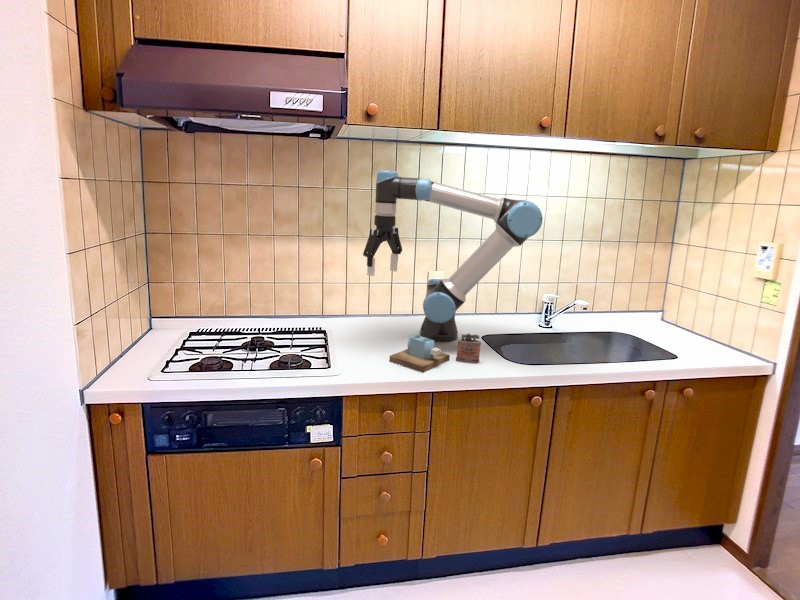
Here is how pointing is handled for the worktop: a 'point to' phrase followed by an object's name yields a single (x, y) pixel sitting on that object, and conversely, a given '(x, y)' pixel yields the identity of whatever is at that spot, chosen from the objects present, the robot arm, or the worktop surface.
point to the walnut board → (418, 360)
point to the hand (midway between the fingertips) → (382, 273)
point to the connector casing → (422, 347)
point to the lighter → (468, 349)
